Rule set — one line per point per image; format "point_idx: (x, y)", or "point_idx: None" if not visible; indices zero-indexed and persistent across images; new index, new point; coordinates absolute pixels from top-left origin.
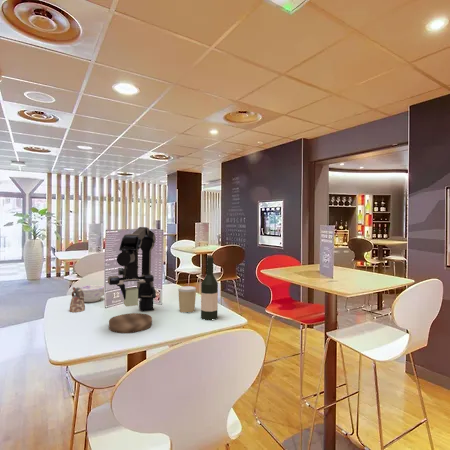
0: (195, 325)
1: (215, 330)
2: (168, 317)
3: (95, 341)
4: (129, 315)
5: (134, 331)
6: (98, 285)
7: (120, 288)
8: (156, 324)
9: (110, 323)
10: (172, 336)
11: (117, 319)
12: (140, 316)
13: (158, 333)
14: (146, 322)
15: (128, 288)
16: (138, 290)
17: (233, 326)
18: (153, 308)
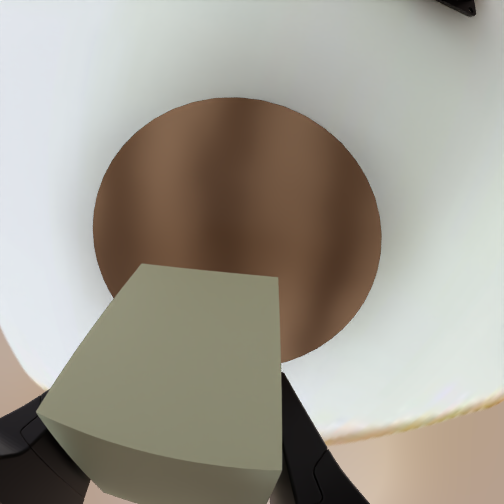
0: (465, 365)
1: (455, 412)
2: (481, 209)
3: (77, 337)
4: (246, 159)
5: None
6: None
7: (8, 426)
8: (373, 289)
9: (101, 271)
10: (336, 420)
11: (141, 218)
12: (314, 234)
13: (313, 388)
14: (293, 358)
15: (119, 470)
16: (271, 499)
17: (500, 397)
18: (473, 4)
